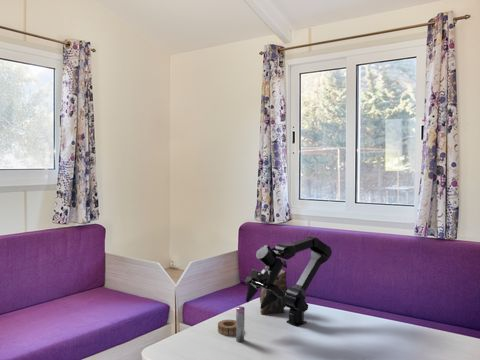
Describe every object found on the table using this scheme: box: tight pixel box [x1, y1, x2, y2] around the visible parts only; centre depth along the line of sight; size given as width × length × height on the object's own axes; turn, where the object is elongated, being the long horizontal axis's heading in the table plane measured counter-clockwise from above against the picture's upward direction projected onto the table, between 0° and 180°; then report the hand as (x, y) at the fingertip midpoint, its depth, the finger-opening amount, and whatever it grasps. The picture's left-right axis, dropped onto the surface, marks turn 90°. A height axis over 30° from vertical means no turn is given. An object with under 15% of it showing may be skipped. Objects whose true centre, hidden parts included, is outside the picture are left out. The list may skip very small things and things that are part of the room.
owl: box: [259, 265, 288, 316], centre depth 200 cm, size 13×13×20 cm
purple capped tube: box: [235, 305, 245, 343], centre depth 166 cm, size 3×3×13 cm
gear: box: [217, 319, 236, 336], centre depth 175 cm, size 9×9×3 cm
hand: (253, 305), depth 169 cm, fingers open, 9 cm apart
